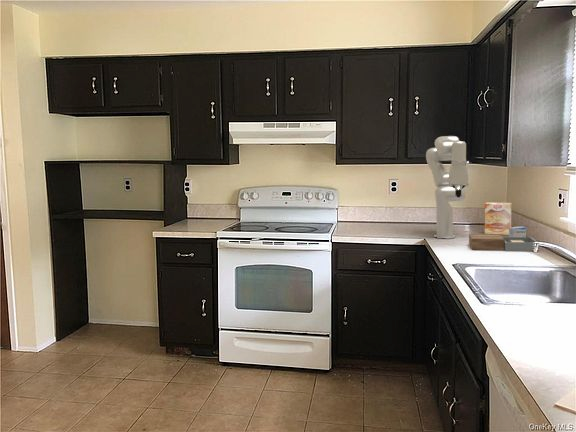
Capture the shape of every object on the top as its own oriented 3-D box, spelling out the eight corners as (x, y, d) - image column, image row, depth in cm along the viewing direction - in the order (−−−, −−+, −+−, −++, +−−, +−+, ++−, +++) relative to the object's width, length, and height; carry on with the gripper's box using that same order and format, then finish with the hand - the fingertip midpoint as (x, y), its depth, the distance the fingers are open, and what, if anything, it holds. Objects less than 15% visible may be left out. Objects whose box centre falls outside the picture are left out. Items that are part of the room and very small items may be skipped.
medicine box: (514, 243, 278) (514, 228, 277) (508, 242, 283) (509, 227, 282) (526, 242, 280) (526, 227, 279) (520, 241, 285) (520, 226, 284)
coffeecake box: (484, 233, 313) (484, 203, 311) (485, 232, 319) (486, 202, 317) (510, 234, 306) (510, 203, 304) (511, 233, 312) (511, 202, 310)
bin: (499, 244, 275) (499, 236, 274) (531, 245, 271) (531, 237, 270) (505, 251, 257) (505, 242, 257) (538, 251, 253) (539, 242, 253)
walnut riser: (469, 244, 278) (469, 234, 277) (499, 245, 274) (499, 234, 273) (471, 250, 263) (472, 239, 262) (504, 250, 258) (504, 239, 258)
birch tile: (521, 240, 265) (521, 245, 266) (509, 239, 267) (509, 245, 267) (524, 242, 259) (524, 247, 260) (511, 241, 261) (511, 247, 261)
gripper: (472, 163, 275) (471, 196, 277) (444, 164, 279) (443, 196, 281) (473, 163, 268) (473, 197, 270) (444, 164, 271) (444, 197, 274)
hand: (458, 197), depth 275 cm, fingers closed
